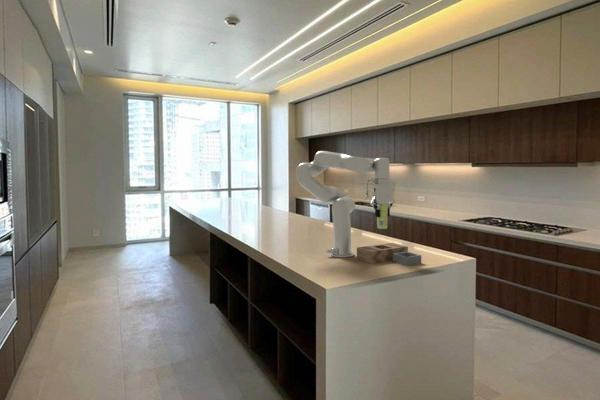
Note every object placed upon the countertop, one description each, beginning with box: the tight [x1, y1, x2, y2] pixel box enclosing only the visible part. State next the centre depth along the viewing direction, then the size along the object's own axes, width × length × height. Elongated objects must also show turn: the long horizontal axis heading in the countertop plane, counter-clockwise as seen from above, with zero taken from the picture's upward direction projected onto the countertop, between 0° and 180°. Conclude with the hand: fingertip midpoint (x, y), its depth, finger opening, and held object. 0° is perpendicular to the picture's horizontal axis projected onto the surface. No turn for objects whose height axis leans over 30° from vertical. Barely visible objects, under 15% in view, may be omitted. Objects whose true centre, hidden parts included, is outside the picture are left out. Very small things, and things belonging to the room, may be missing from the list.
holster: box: [392, 251, 422, 267], centre depth 188 cm, size 9×10×4 cm
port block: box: [356, 242, 409, 264], centre depth 198 cm, size 24×12×6 cm, turn 116°
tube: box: [376, 204, 388, 230], centre depth 196 cm, size 6×5×20 cm
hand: (382, 216), depth 196 cm, fingers closed on tube, 5 cm apart
